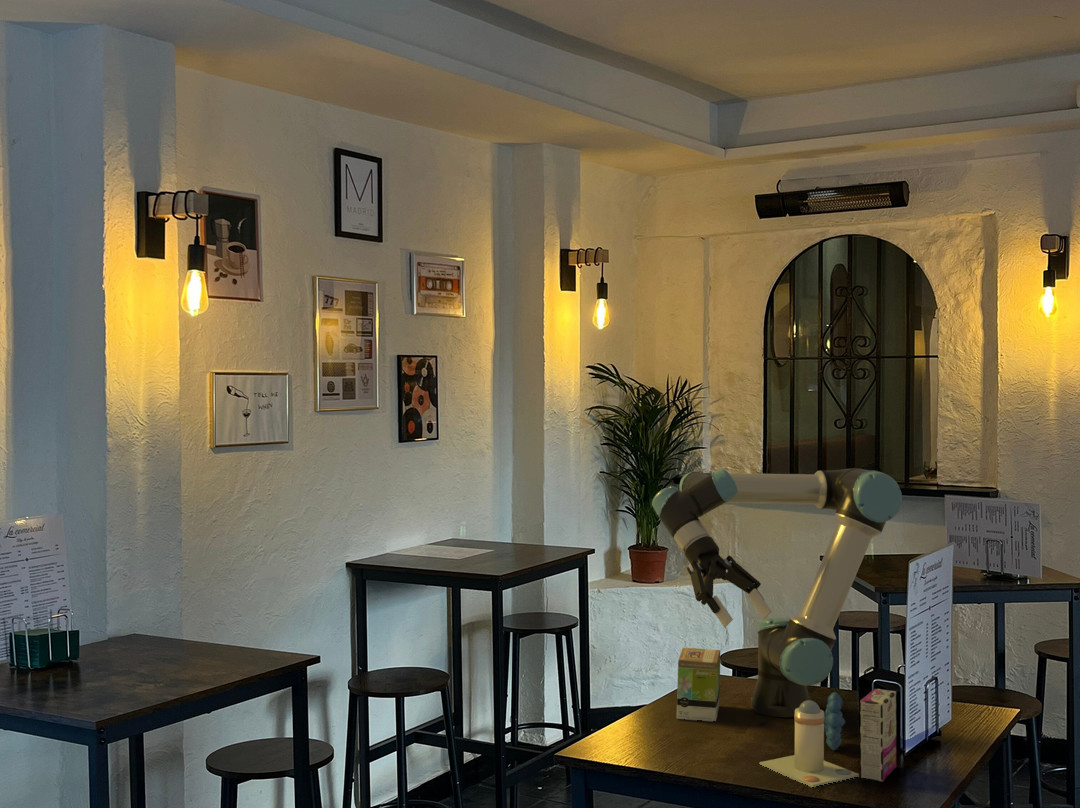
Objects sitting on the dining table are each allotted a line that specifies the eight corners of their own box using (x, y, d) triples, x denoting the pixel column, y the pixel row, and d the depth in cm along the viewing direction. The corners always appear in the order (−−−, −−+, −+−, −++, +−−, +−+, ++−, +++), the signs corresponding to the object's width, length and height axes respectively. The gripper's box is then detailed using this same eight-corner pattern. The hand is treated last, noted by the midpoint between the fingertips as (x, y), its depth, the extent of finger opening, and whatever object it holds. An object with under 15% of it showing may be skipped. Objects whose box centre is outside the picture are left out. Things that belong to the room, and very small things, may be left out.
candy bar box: (873, 763, 242) (874, 687, 242) (897, 767, 240) (897, 690, 240) (858, 778, 233) (859, 699, 233) (882, 783, 230) (883, 703, 230)
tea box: (717, 722, 272) (718, 661, 272) (675, 720, 274) (676, 659, 274) (720, 706, 287) (720, 648, 287) (680, 703, 289) (681, 646, 289)
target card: (804, 755, 247) (804, 751, 247) (859, 777, 234) (859, 773, 234) (759, 765, 241) (759, 761, 241) (812, 787, 227) (812, 783, 227)
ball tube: (809, 761, 242) (809, 695, 242) (830, 769, 236) (830, 702, 236) (787, 766, 239) (788, 699, 238) (808, 774, 233) (809, 706, 233)
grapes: (816, 737, 261) (816, 686, 260) (846, 740, 259) (846, 688, 258) (812, 752, 249) (813, 698, 249) (844, 756, 247) (844, 701, 247)
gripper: (723, 550, 271) (773, 621, 260) (651, 560, 255) (701, 637, 244) (740, 530, 267) (792, 602, 256) (668, 539, 251) (720, 616, 240)
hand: (748, 619), depth 250 cm, fingers open, 13 cm apart
